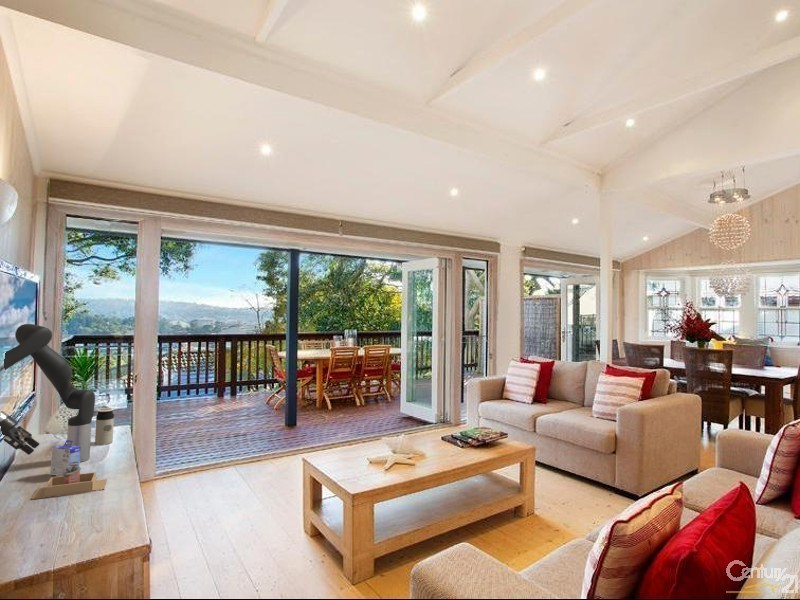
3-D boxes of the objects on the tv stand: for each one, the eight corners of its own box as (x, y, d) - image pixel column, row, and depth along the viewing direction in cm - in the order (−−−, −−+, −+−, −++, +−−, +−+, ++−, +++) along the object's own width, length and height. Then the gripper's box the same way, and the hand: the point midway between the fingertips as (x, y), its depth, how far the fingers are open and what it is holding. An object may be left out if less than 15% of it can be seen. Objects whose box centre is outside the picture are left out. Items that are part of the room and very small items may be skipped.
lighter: (73, 485, 182) (74, 461, 183) (82, 485, 183) (83, 461, 183) (60, 493, 174) (61, 467, 175) (69, 493, 175) (70, 467, 175)
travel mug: (93, 442, 239) (95, 408, 239) (111, 440, 244) (112, 407, 244) (96, 446, 233) (98, 411, 233) (114, 443, 238) (115, 409, 239)
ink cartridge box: (80, 473, 195) (81, 440, 195) (68, 478, 190) (70, 444, 190) (61, 471, 197) (63, 438, 197) (49, 475, 192) (51, 442, 192)
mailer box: (40, 485, 181) (41, 475, 182) (108, 476, 192) (108, 467, 193) (31, 499, 168) (31, 489, 168) (104, 489, 179) (104, 479, 179)
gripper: (1, 419, 163) (39, 447, 168) (12, 411, 176) (47, 437, 181) (-19, 435, 160) (20, 463, 165) (-6, 425, 173) (30, 451, 178)
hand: (34, 449), depth 173 cm, fingers open, 8 cm apart
